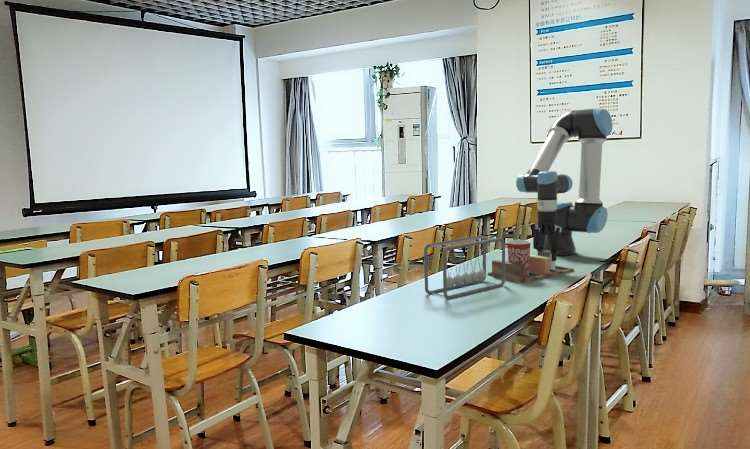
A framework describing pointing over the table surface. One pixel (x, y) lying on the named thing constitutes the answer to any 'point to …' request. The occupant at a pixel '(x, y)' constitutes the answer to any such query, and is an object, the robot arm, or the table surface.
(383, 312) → the table surface
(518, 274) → the clamp bed
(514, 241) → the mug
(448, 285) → the newton's cradle
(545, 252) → the lock block
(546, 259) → the block
